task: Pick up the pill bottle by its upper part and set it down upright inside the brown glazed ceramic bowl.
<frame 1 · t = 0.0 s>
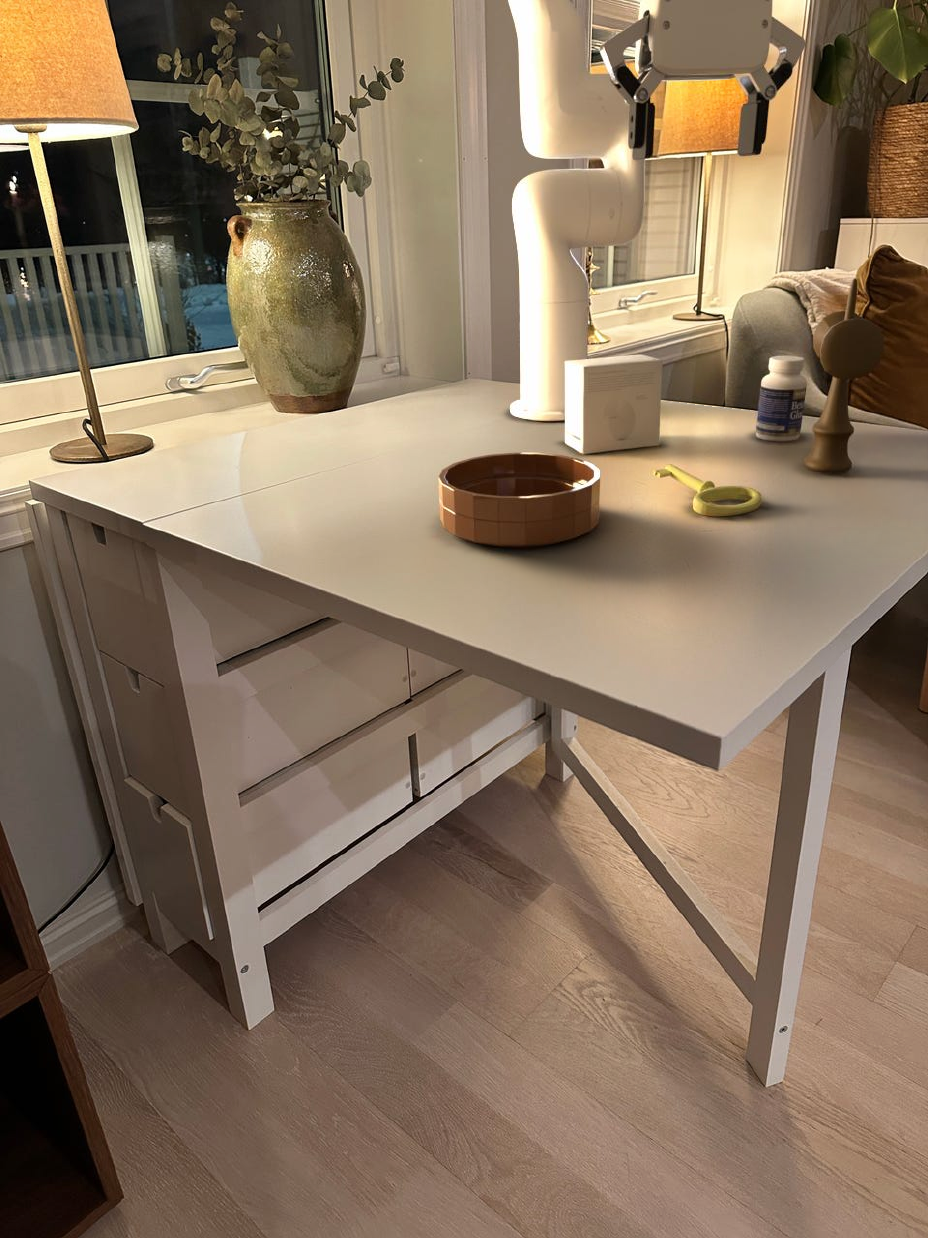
hand: (695, 156, 76), 31 cm above the table, tool pointing down, fingers open, 9 cm apart
bowl: (519, 523, 86), on the table
pill bottle: (777, 438, 112), on the table
key: (705, 501, 91), on the table
kendama: (826, 471, 98), on the table
cosmetics box: (610, 445, 112), on the table
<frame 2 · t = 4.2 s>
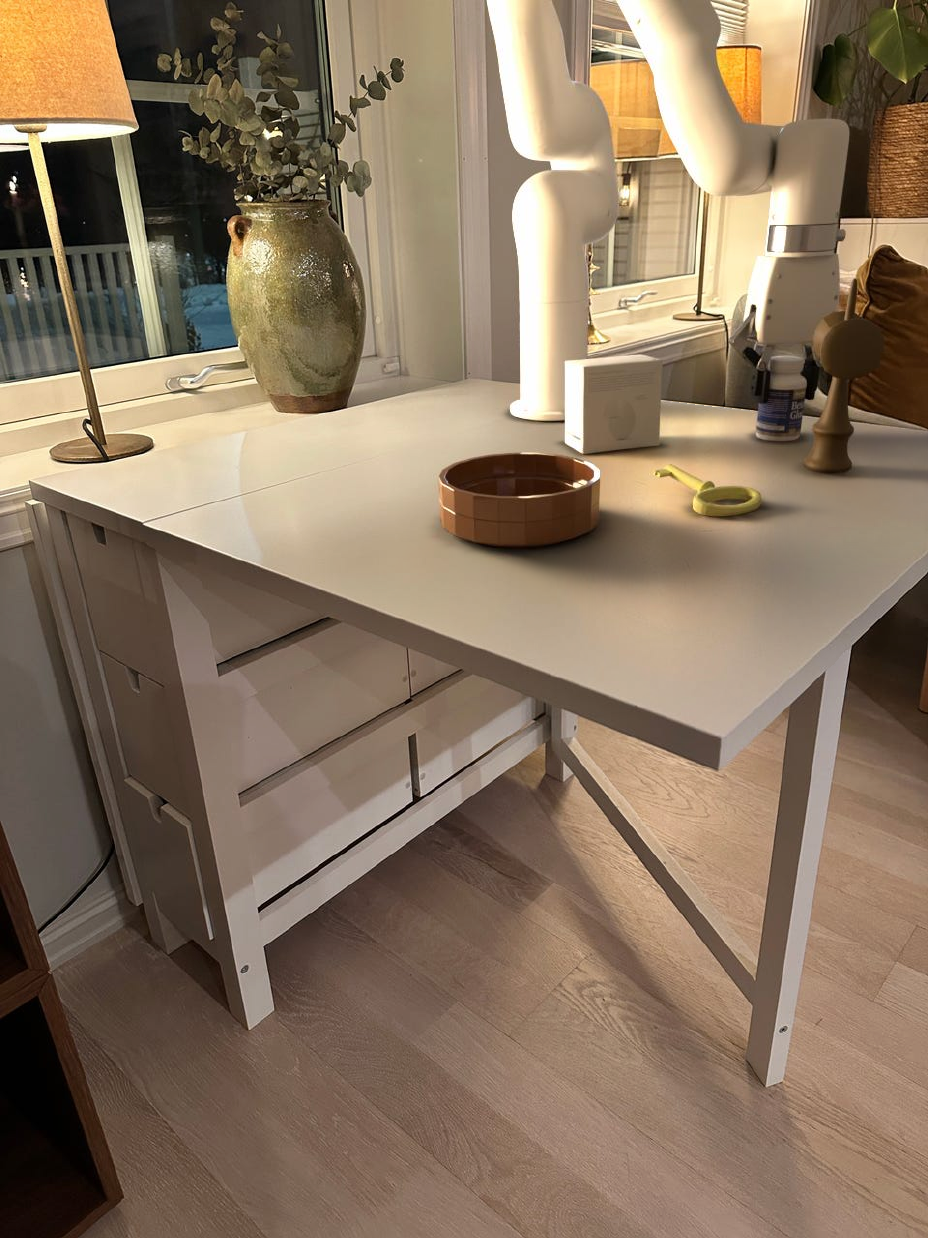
hand: (782, 398, 110), 5 cm above the table, tool pointing down, fingers closed on pill bottle, 5 cm apart
pill bottle: (777, 438, 112), on the table, touching gripper
everything else where it was.
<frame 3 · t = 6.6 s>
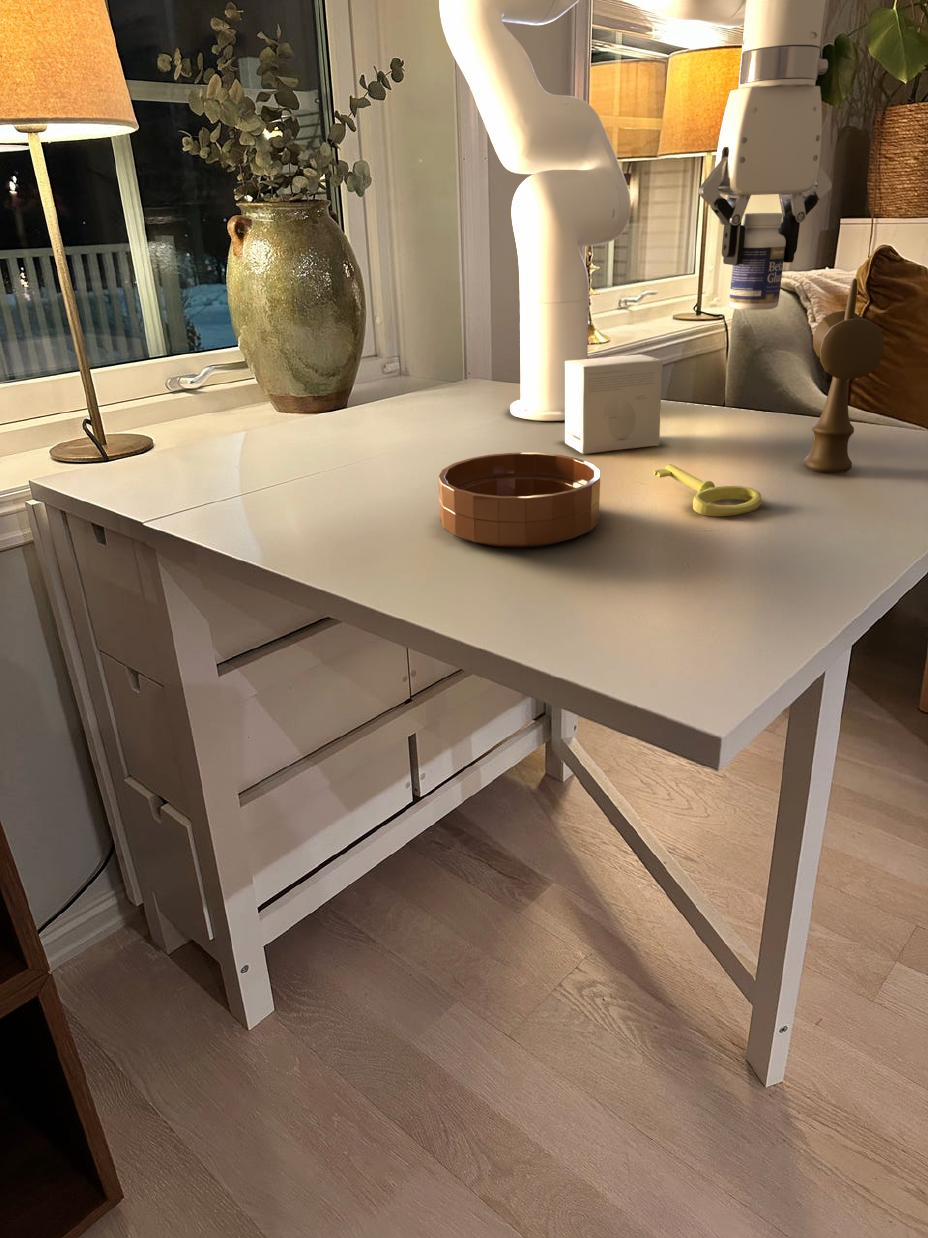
hand: (758, 261, 98), 21 cm above the table, tool pointing down, fingers closed on pill bottle, 5 cm apart
pill bottle: (753, 309, 100), point 16 cm above the table, touching gripper
everything else where it was.
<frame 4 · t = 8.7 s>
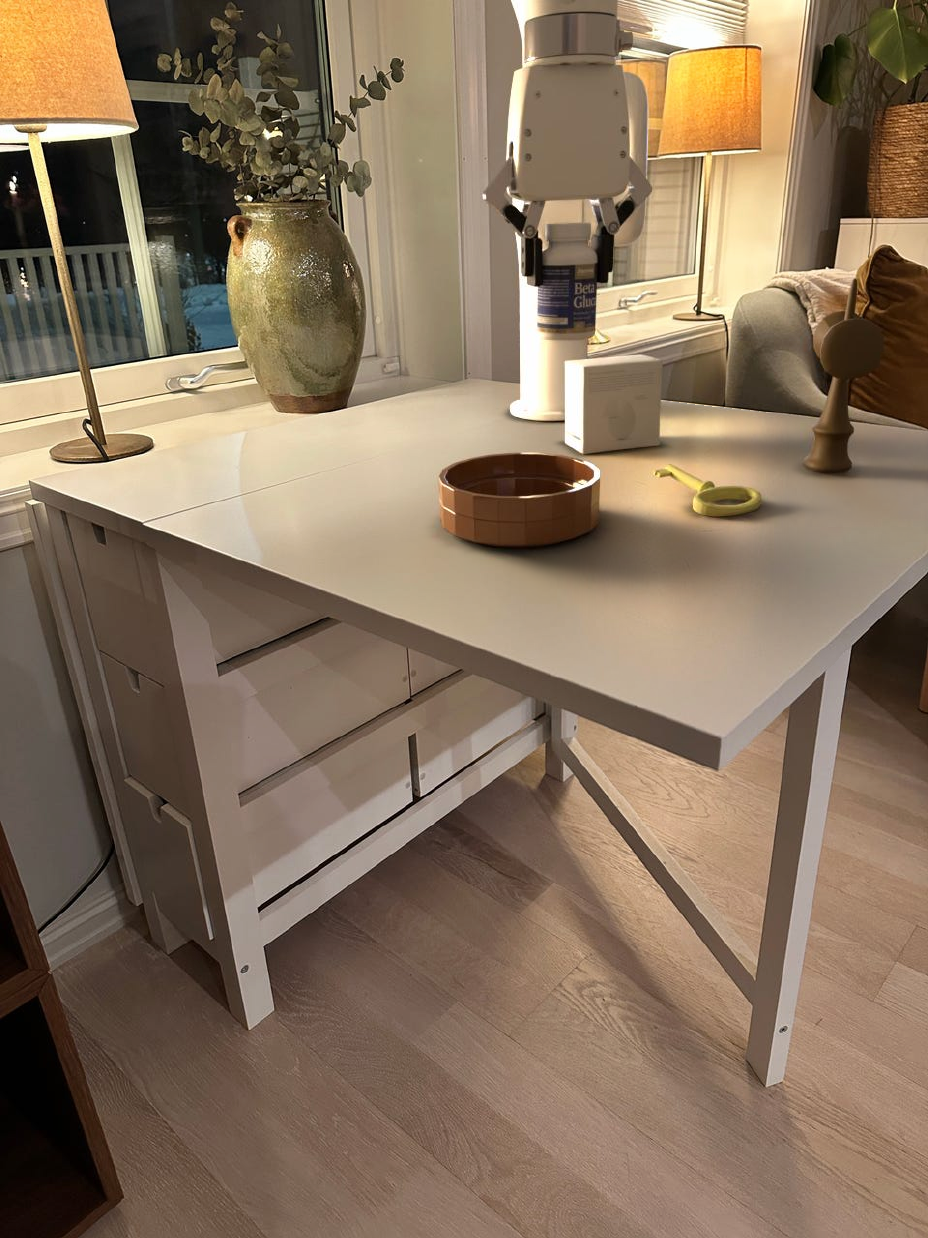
hand: (566, 281, 80), 22 cm above the table, tool pointing down, fingers closed on pill bottle, 5 cm apart
pill bottle: (566, 339, 82), point 16 cm above the table, touching gripper
everything else where it was.
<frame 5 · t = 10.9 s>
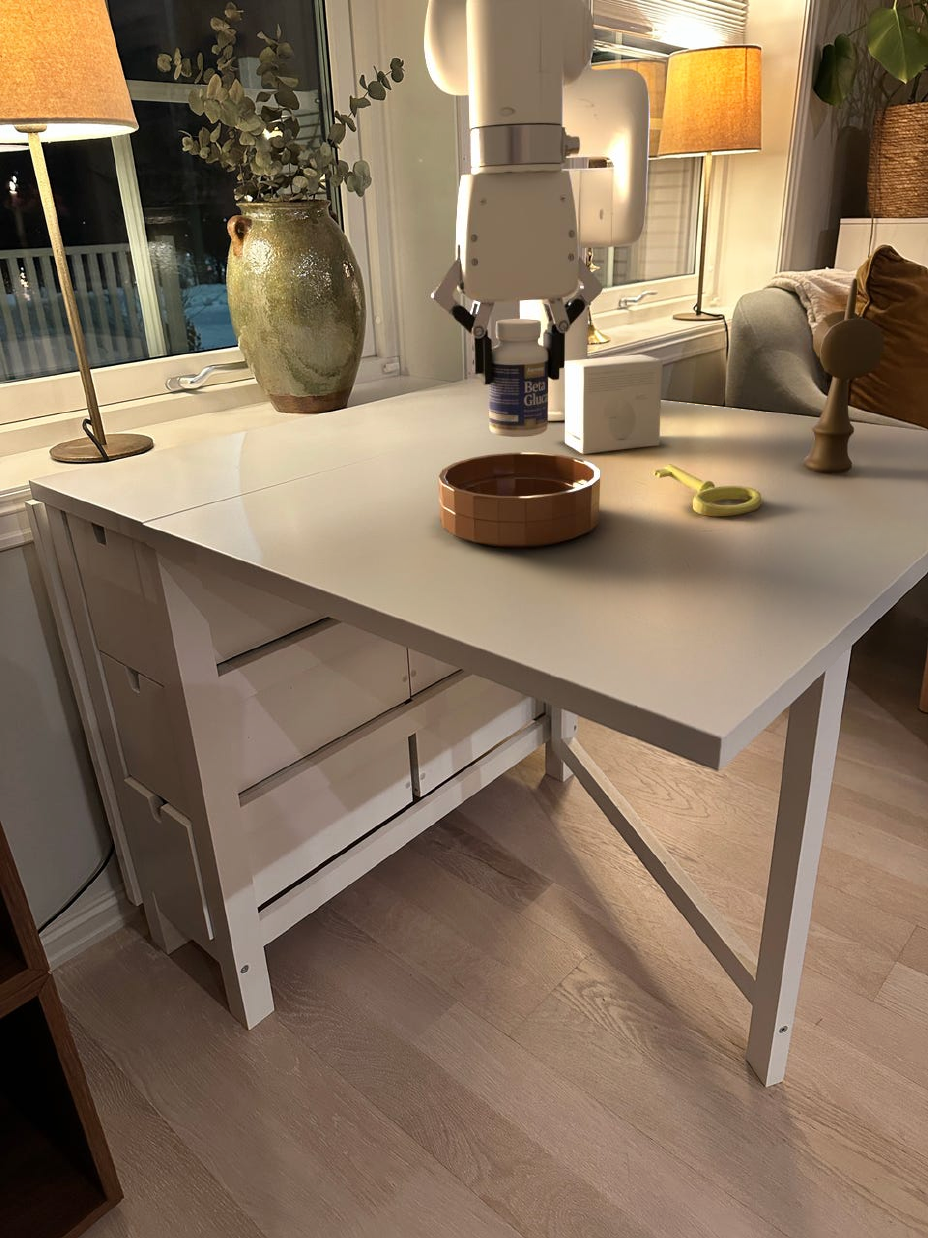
hand: (518, 377, 80), 14 cm above the table, tool pointing down, fingers closed on pill bottle, 5 cm apart
pill bottle: (518, 433, 82), point 9 cm above the table, touching gripper
everything else where it was.
when the fingers open (5 cm above the table, at t = 13.2 s): pill bottle stays where it is, resting on bowl.
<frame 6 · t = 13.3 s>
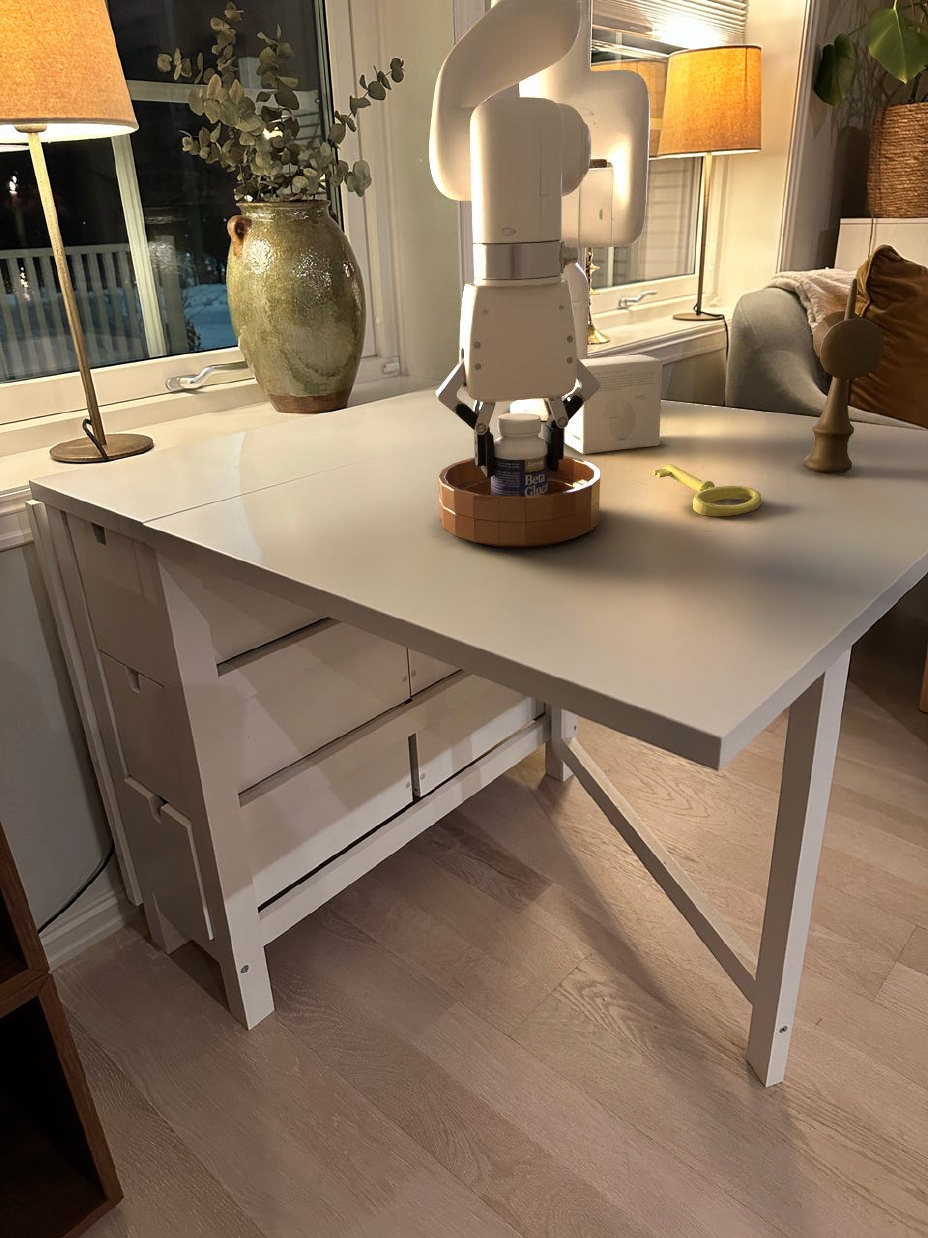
hand: (519, 468, 84), 5 cm above the table, tool pointing down, fingers open, 5 cm apart
pill bottle: (519, 519, 86), resting on bowl
everything else where it was.
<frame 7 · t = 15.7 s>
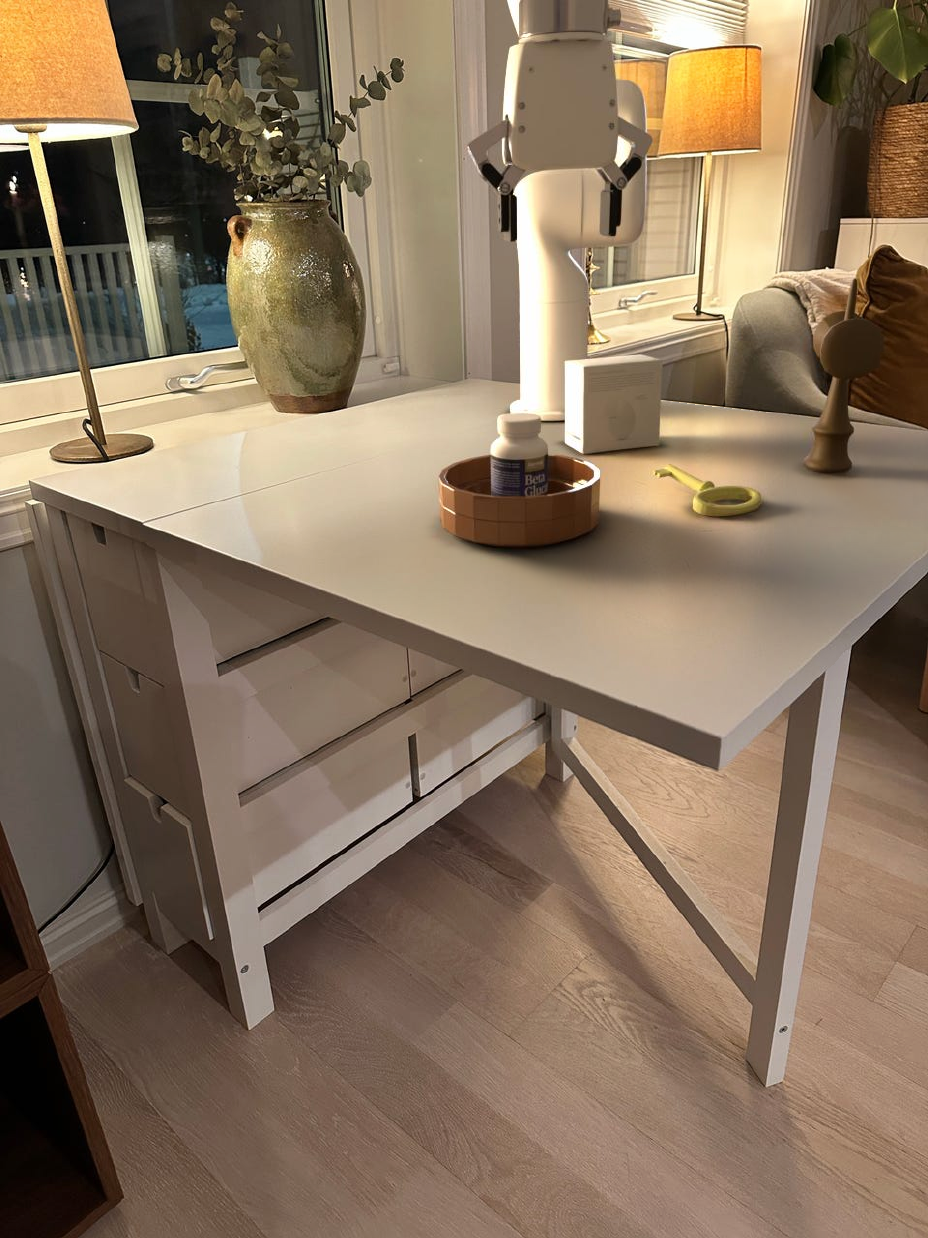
hand: (559, 237, 85), 25 cm above the table, tool pointing down, fingers open, 9 cm apart
nothing on the table moved.
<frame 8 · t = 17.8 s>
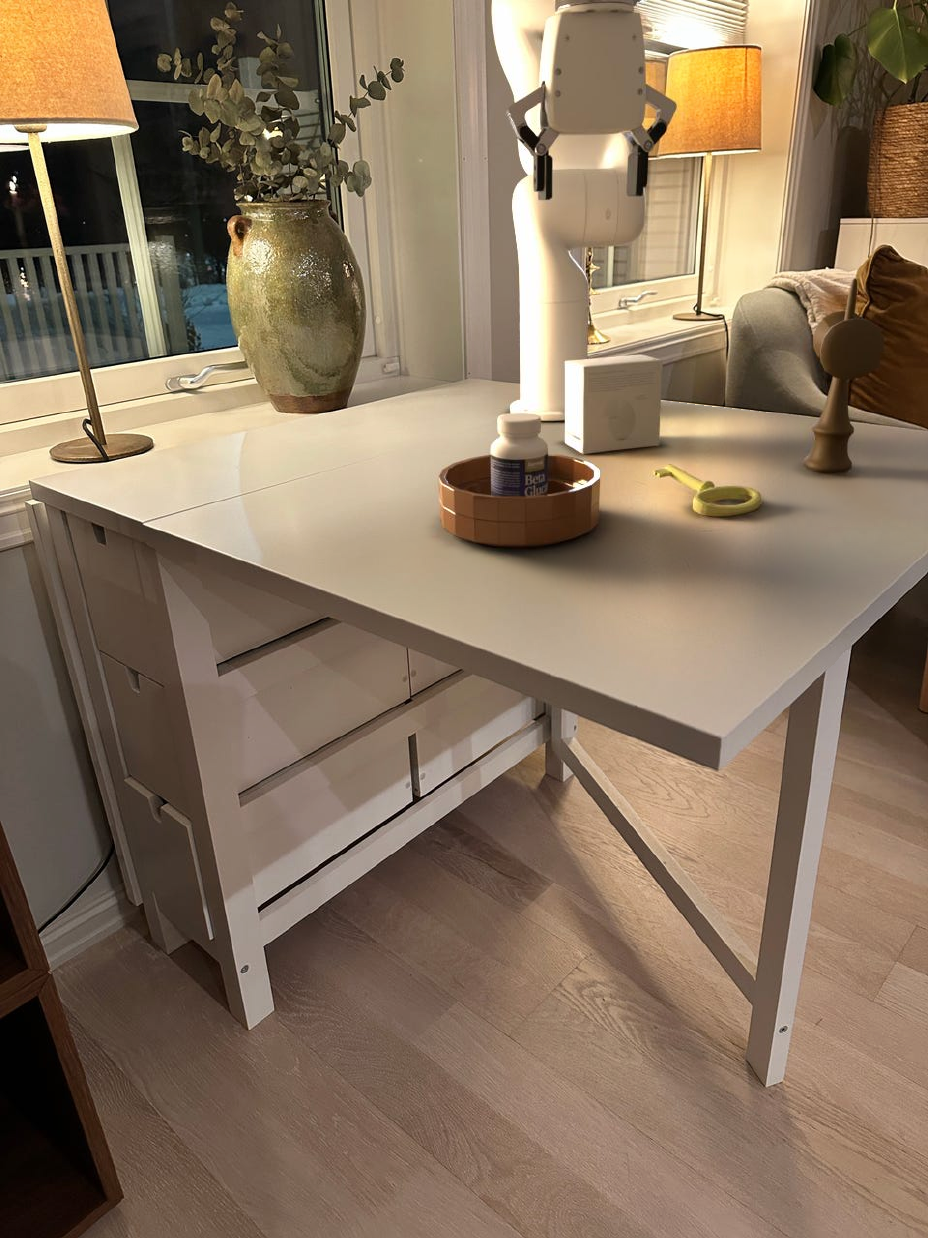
hand: (590, 197, 92), 28 cm above the table, tool pointing down, fingers open, 9 cm apart
nothing on the table moved.
at the end: pill bottle inside the target area in the bowl (0.0 cm from its centre), point 0.4 cm above the bowl's base; the gripper is holding nothing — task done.
